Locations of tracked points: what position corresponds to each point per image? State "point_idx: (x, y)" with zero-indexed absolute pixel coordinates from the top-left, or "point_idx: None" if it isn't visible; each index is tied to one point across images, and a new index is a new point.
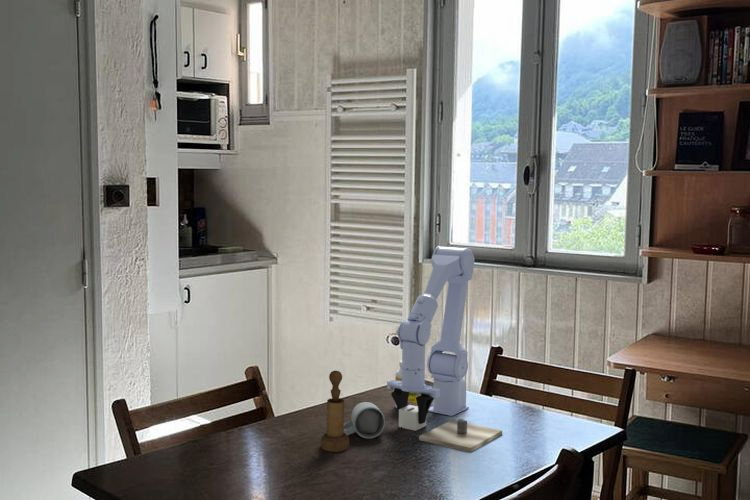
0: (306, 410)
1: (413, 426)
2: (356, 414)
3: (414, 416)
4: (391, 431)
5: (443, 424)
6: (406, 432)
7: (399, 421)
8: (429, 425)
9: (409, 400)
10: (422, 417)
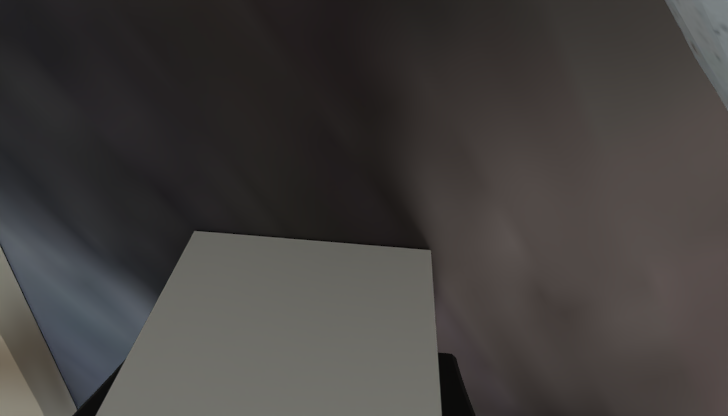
0: None
1: (210, 264)
2: None
3: (143, 374)
4: (430, 61)
5: (39, 412)
6: (236, 132)
7: (422, 298)
8: None
9: None
10: None
